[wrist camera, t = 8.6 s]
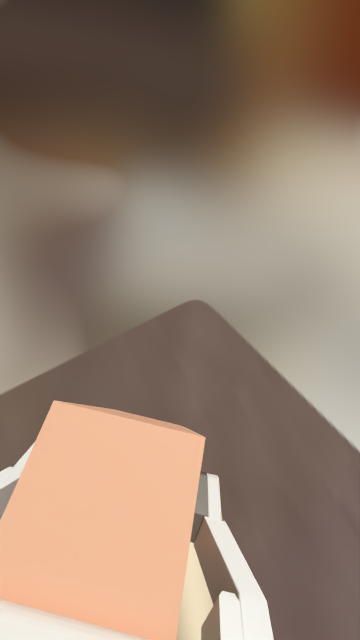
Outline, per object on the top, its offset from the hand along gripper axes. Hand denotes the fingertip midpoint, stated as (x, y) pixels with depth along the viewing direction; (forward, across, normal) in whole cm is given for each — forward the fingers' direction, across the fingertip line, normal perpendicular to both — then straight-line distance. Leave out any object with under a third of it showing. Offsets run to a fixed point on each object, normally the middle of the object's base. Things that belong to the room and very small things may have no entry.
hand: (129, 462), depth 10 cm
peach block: (+3, 0, +4) cm, 5 cm away
